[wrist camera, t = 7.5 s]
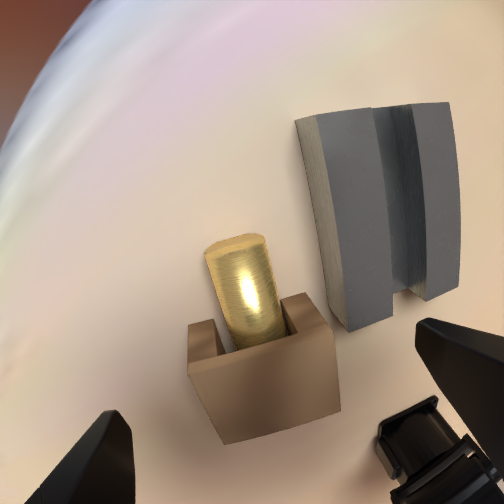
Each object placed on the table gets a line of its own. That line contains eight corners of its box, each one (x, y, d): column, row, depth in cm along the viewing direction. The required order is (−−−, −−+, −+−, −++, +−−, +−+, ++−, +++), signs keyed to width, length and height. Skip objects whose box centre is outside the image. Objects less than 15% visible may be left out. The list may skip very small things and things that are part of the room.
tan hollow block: (305, 292, 18) (333, 332, 14) (317, 366, 20) (340, 410, 16) (188, 325, 18) (187, 374, 14) (218, 395, 20) (224, 445, 16)
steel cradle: (416, 105, 16) (448, 102, 13) (431, 269, 19) (458, 286, 17) (294, 120, 15) (315, 114, 12) (328, 306, 19) (348, 332, 16)
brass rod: (199, 247, 16) (211, 265, 14) (252, 229, 17) (274, 243, 14) (249, 395, 20) (264, 424, 17) (289, 378, 21) (308, 404, 18)
